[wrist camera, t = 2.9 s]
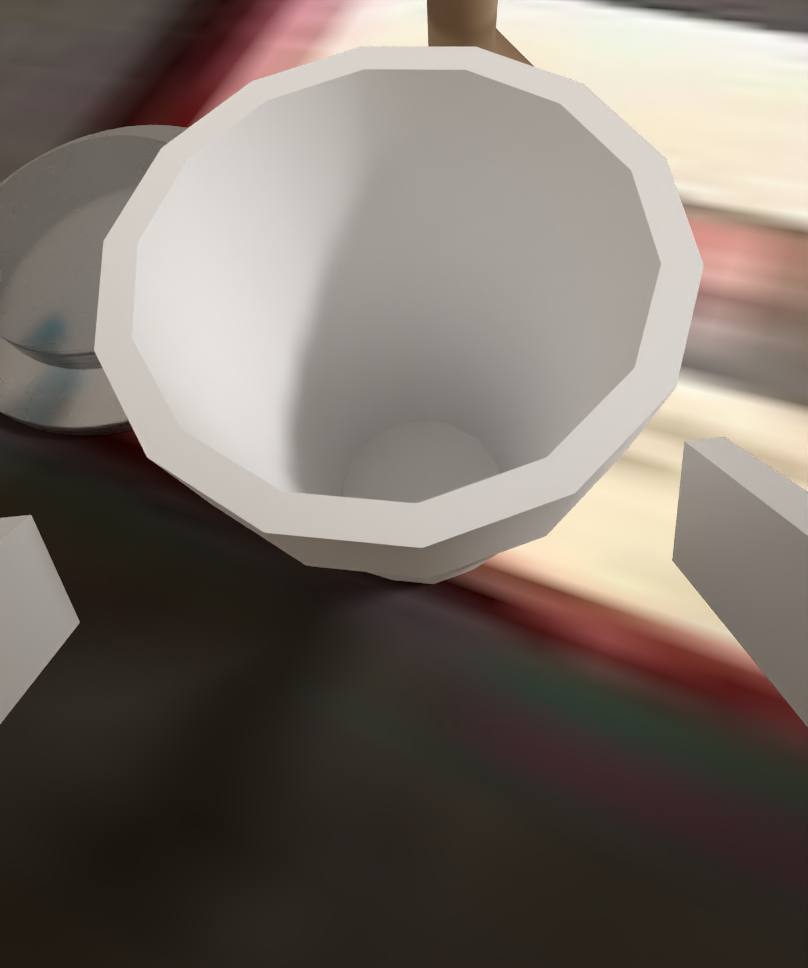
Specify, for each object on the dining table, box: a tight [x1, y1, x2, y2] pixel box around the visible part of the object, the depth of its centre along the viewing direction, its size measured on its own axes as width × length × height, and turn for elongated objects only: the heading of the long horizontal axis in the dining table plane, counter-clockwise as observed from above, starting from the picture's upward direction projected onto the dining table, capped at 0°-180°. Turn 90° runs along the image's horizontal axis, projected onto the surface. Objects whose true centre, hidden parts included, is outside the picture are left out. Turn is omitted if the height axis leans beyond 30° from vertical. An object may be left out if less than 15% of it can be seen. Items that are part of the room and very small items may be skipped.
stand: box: [427, 0, 534, 67], centre depth 20 cm, size 10×10×12 cm
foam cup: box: [94, 47, 704, 584], centre depth 15 cm, size 10×9×13 cm
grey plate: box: [0, 125, 188, 436], centre depth 24 cm, size 16×16×2 cm
